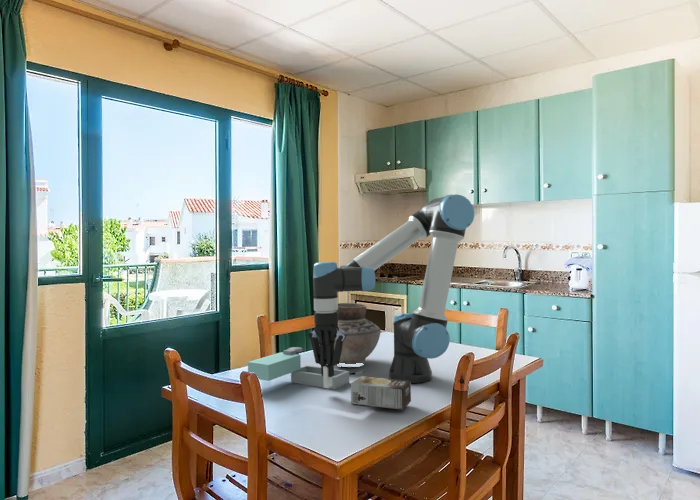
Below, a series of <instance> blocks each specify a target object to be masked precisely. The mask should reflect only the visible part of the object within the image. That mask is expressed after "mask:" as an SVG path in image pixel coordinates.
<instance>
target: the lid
mask: <svg viewBox="0 0 700 500" xmlns="http://www.w3.org/2000/svg"><path fill="white" fill-rule="evenodd" d="M282 351H283V352H282ZM282 351H281V352H277V353H274V354H270V355H267V356H263V357H261V358H256V359H253V360H250V361H248V362H247V373H248V372H254V373H255V374H256V375H257V376H258V378H259V379H258V380H260V381H261V380H262V381H268V382H269V381H272V380H276V379H278V378H280V377H283V376H286V375H289V374H291V373H292V372H295V371H297V370H300V369H301V367H302V366H301V363H302V362H301V361H302V360H301V354H299V355H298V354H296V352H299V353H301V352H303V347H300V346H299V347H298V346H296V347H295V346H292V347H288V348H287V349H285V350H282Z"/></svg>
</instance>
